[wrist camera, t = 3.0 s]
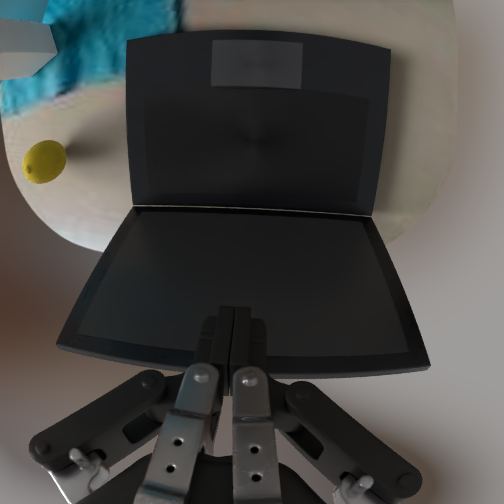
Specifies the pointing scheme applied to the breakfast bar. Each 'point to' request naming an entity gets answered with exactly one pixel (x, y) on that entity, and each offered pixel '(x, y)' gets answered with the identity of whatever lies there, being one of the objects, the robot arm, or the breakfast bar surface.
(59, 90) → the breakfast bar surface
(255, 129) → the laptop
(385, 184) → the breakfast bar surface
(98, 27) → the breakfast bar surface
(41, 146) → the lemon
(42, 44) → the milk
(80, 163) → the breakfast bar surface
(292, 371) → the laptop screen
